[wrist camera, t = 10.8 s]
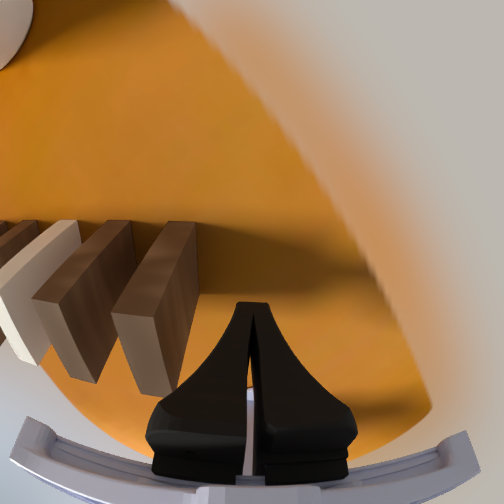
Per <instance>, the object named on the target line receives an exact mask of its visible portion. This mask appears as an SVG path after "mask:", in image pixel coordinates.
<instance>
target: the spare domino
mask: <svg viewBox="0 0 504 504" xmlns="http://www.w3.org/2000/svg"><path fill="white" fill-rule="evenodd" d="M81 245H82V242H81V237H80V232H79V227H78V222H77V220H59V221H57V222H56V223H55V224H53V225H52V226H51V227H49V228H48V229H47V230H45V231H44V232H43V233H42V234H40V235H39V236H38V237H37V238H35V239H34V240H33V241H32V242H31V243H29V244H28V245H27V246H26V247H25V248H23V249H22V250H21V251H20V252H19V253H17V254H16V255H15V256H14V257H13V258H12V259H11V260H10V261H8V262H7V263H6V264H5V265H4V266H3V267H2V268H1V269H0V326H1V328H2V330H3V332H4V334H5V336H6V337H7V339H8V341H9V343H10V344H11V346H12V348H13V350H14V351H15V353H16V354H17V356H18V358H19V359H20V360H23V361H25V362H27V363H30V364H33V365H36V366H38V365H39V363H40V362H41V360H42V358H43V357H44V355H45V353H46V352H47V350H48V348H49V347H50V345H51V344H52V343H51V341H50V339H49V337H48V335H47V333H46V331H45V329H44V327H43V325H42V323H41V321H40V318H39V316H38V314H37V312H36V309H35V307H34V305H33V302H32V300H31V298H32V297H33V295H34V294H35V293H36V292H37V291H38V290H39V289H40V287H41V286H42V285H43V284H44V283H45V282H46V281H47V280H48V279H49V278H50V276H51V275H52V274H53V273H54V272H55V271H56V270H57V269H58V268H59V267H60V266H61V265H62V264H63V263H64V262H65V261H66V260H67V259H68V258H69V257H70V256H71V255H72V254H73V253H74V252H75V251H76V250H77V249H78V248H79V247H80V246H81Z"/></svg>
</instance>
